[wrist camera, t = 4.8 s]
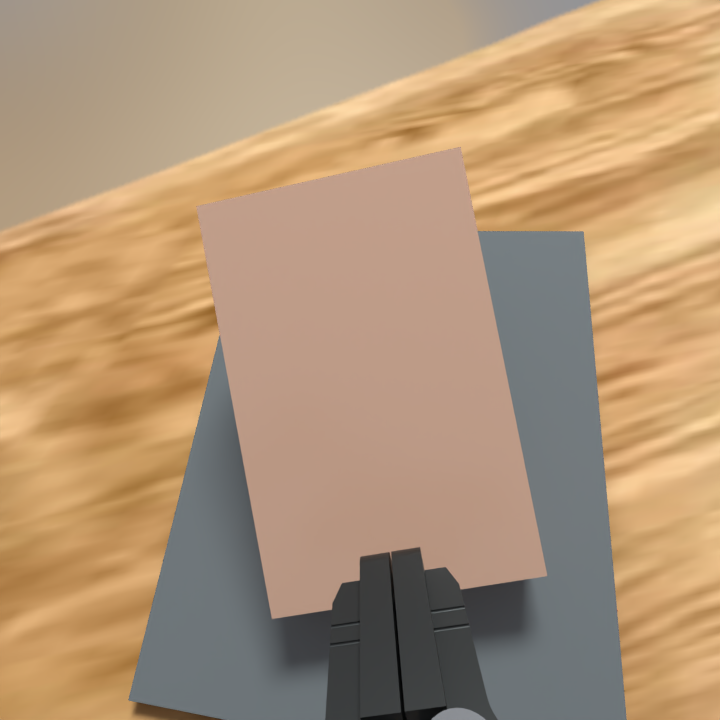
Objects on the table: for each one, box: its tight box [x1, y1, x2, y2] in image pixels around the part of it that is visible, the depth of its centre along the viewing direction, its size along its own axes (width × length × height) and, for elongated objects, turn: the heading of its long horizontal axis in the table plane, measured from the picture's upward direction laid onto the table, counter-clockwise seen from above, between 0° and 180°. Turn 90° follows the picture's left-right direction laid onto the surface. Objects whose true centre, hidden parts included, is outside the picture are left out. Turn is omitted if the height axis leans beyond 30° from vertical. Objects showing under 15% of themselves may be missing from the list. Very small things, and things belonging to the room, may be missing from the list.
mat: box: [129, 231, 627, 720], centre depth 19 cm, size 17×21×1 cm
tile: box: [196, 147, 547, 619], centre depth 16 cm, size 3×9×14 cm
